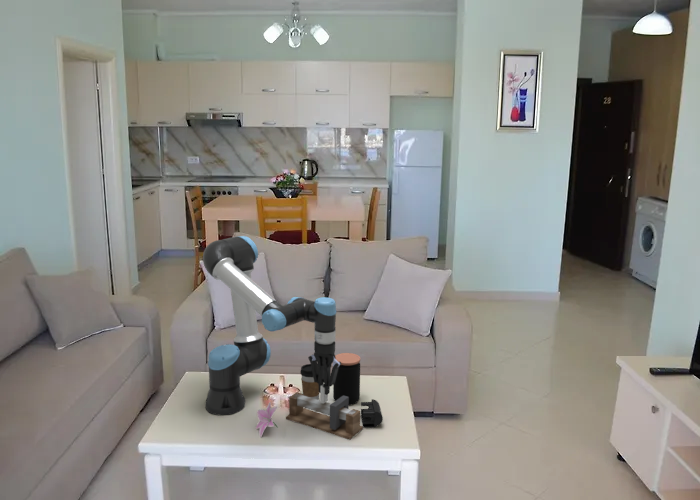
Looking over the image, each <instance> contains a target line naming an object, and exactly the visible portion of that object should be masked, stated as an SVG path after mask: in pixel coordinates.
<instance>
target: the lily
mask: <svg viewBox="0 0 700 500" xmlns="http://www.w3.org/2000/svg"><path fill="white" fill-rule="evenodd" d="M271 404H272V402H271V401H270V402H268V405H267V406H266V408H265V409H262V408H261V409H257V411H256V415H257V418H258V422H257V424H256V426H255V428H254V429H255V430H257V429H258V430H259V432H258V433H259V438H262V436H263V434H264V432H265V430H266V428H267V427H269V428H272V427H275V428H278V425H277V424H276V423H275V422H274V421H273V418H272V417H273V415H274V414H275V412H276V411H277V409H278V406H273V407H272V405H271Z"/></svg>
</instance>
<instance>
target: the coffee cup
mask: <svg viewBox="0 0 700 500" xmlns="http://www.w3.org/2000/svg"><path fill="white" fill-rule="evenodd" d="M299 373H300V375H301V379H300V380H301V387H302V390H301V391H302V394H303V396H307V397H310V398H313V399H317V400H320V393H319V385H318V383H317V382H314V378H313V373H312V368H311V363H308V364H306V363H305V364H304V365H302V366H301V367H300V372H299Z"/></svg>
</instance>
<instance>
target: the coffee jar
mask: <svg viewBox="0 0 700 500" xmlns="http://www.w3.org/2000/svg"><path fill="white" fill-rule="evenodd" d="M335 357H336V360H337V361H338V362H339V361H340V362H341V365H340V366H339V368H338V372H337V376H336V380H335V384H333V385H332V386H333V387H332V389H333V390H332V392H333V393H332V395H333V396H332V398H333V400H334V402H335V401H336V400H337V399H339V398H340V397H342V396H343V395H344V396H347V397H349V406H353V405H355V404H357V403H358V402H359V400H360V398H361V396H360V395H361V394H360V393H361V392H360V391H361V356H359V355H358V354H356V353H351V352H343V353H338V354H335Z"/></svg>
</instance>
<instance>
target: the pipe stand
mask: <svg viewBox="0 0 700 500" xmlns="http://www.w3.org/2000/svg"><path fill="white" fill-rule="evenodd" d="M331 404H332V403H330V402H328V401H327V402H325V403H320V399H319V400H317V399H313V398H310V397H307V396H303V393H301V392H298V391H297V392H295V393H293V394H292V395H290V396H289V397H288V415H286V416H285V419H286V420H288V421H291V422H295V423H297V424H300V425H303V426H306V427H309V428H312V429H316V430H318V431H322V432H325V433H327V434H331V435H334V436H337V437H339V438H344V439H347V440H349V441H350V440H351V439H353V438H354V437H355V436H356V435H357V434H359V433H360V432H361V431H362V430H363V429H364V428H363V425H361V410H359V409H355V408H352V409H350V408H349V409H347V408H344V407H342V408H341V409H340V410H339V419H342V420H346V422H345V423H343V424H342V425H341V426H340V427H338V428H337V429H336V430H334V429H331V428H330V405H331Z"/></svg>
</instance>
